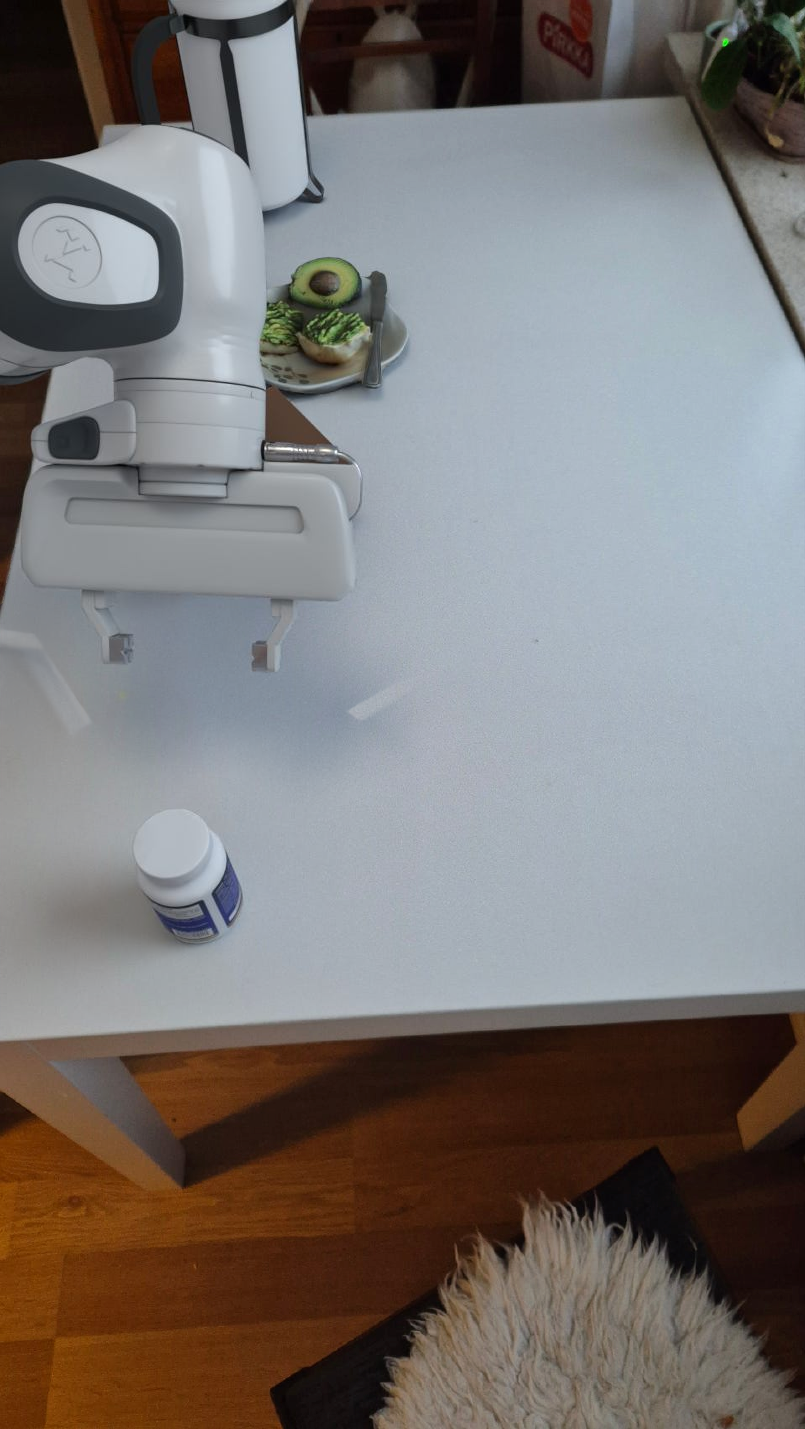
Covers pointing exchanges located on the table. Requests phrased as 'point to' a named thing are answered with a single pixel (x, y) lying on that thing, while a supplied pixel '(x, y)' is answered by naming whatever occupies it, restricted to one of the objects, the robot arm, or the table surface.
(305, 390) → the avocado toast plate
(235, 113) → the coffee press
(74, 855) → the table surface
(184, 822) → the pill bottle
